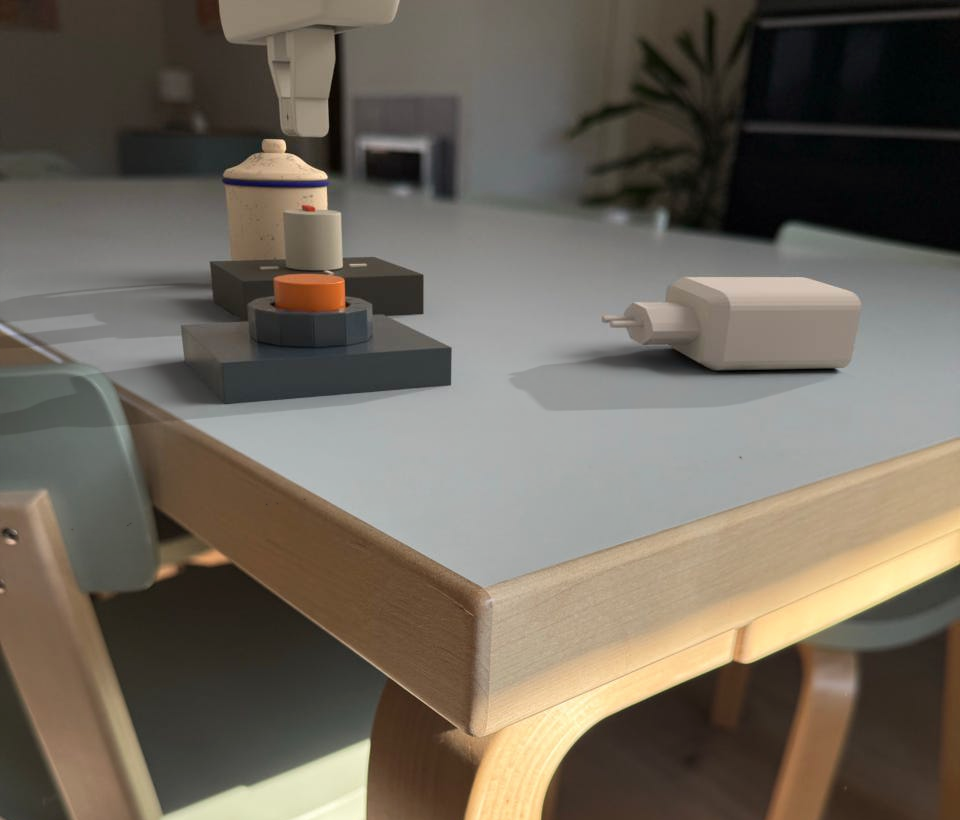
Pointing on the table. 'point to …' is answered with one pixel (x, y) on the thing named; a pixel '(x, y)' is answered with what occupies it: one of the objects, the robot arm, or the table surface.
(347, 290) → the kettle base
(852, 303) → the charger
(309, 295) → the power button
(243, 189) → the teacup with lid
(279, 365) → the switch block
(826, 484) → the table surface
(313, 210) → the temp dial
